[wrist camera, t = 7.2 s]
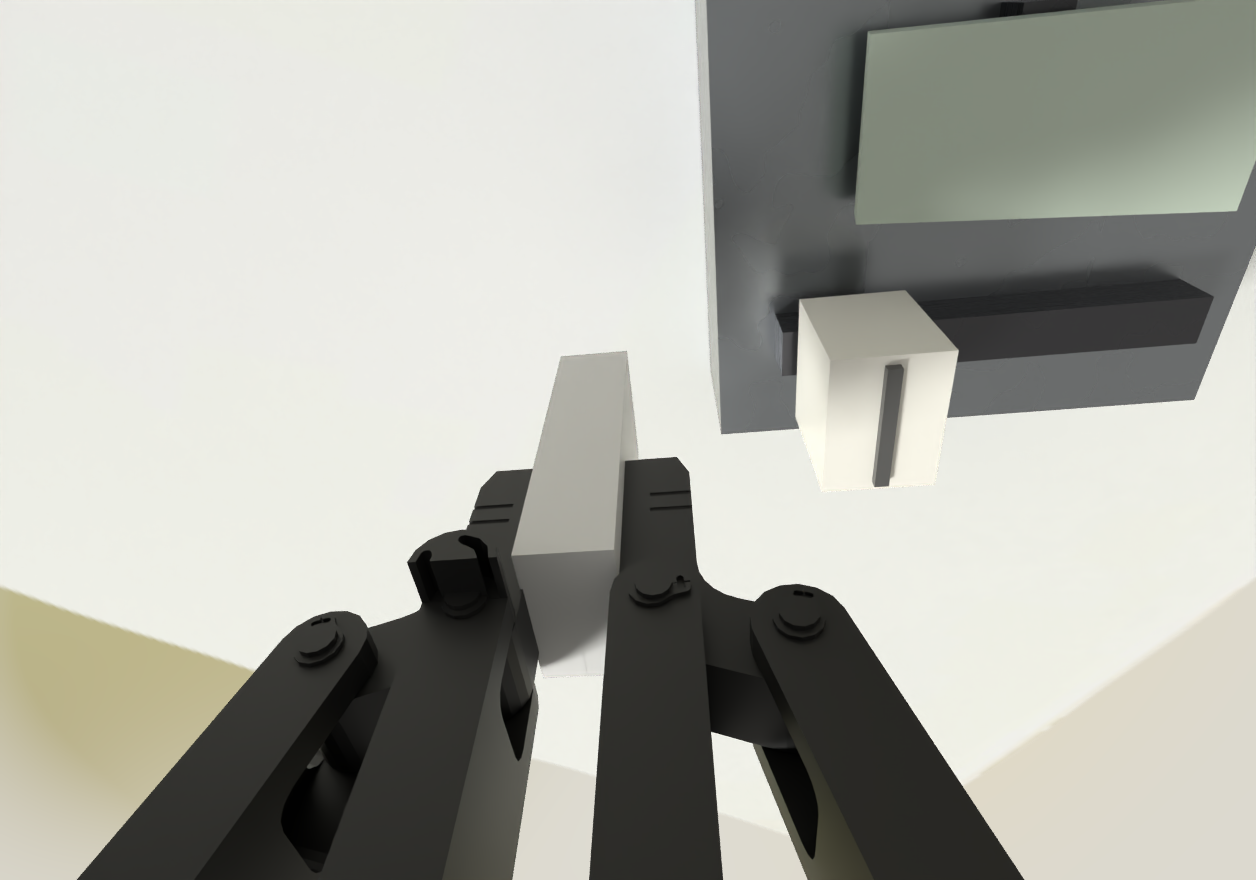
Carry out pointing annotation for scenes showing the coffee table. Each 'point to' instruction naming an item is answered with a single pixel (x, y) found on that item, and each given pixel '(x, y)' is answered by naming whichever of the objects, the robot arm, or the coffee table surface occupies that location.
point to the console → (927, 236)
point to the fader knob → (872, 390)
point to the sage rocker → (1060, 114)
